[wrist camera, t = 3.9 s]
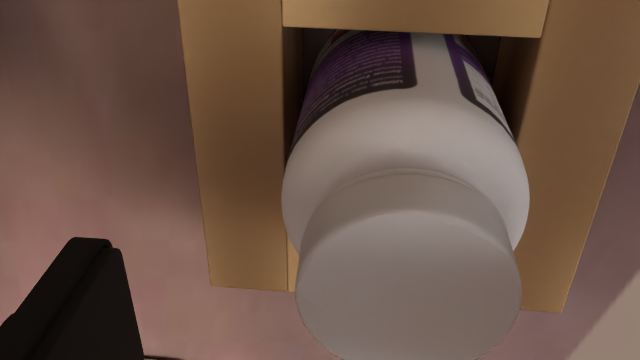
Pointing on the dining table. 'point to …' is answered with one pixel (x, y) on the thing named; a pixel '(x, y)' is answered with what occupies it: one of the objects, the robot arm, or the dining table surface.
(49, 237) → the dining table surface
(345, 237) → the pill bottle
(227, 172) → the frame
